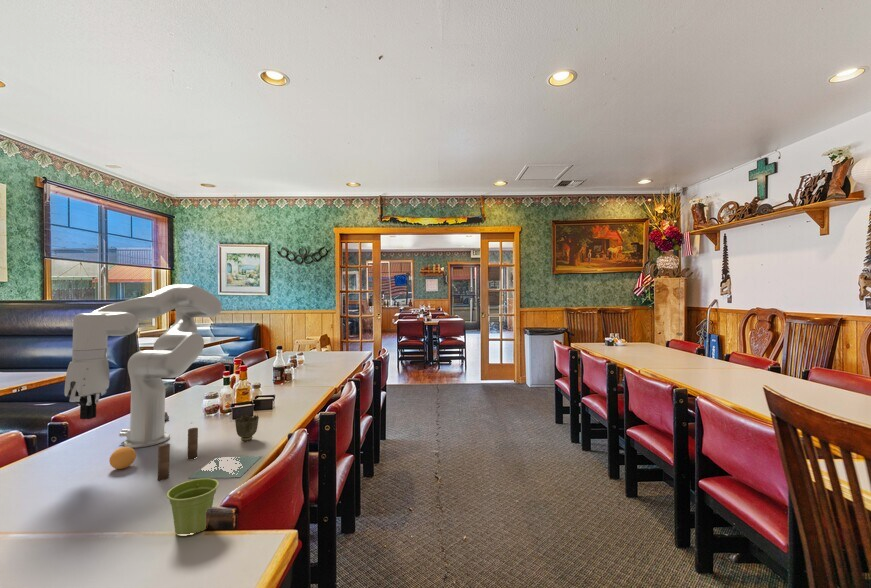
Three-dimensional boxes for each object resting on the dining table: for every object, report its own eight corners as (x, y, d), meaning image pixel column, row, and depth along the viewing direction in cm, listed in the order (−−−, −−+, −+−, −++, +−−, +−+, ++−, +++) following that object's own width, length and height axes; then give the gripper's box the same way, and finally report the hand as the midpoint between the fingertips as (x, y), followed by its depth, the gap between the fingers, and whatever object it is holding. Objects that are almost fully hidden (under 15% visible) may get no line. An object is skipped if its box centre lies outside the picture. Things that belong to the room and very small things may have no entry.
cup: (262, 437, 134) (263, 414, 134) (250, 445, 127) (250, 421, 127) (243, 436, 135) (243, 414, 135) (230, 444, 128) (230, 420, 128)
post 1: (155, 480, 102) (155, 447, 102) (161, 475, 104) (162, 443, 104) (165, 480, 102) (165, 447, 102) (171, 475, 104) (172, 443, 104)
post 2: (185, 459, 115) (186, 430, 115) (190, 456, 117) (191, 427, 117) (194, 459, 115) (194, 430, 115) (199, 456, 117) (199, 427, 118)
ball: (103, 472, 106) (103, 451, 106) (120, 463, 112) (120, 443, 112) (125, 472, 106) (125, 451, 106) (141, 463, 112) (141, 443, 112)
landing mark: (188, 478, 103) (188, 477, 103) (216, 457, 117) (216, 456, 117) (239, 477, 103) (239, 477, 103) (261, 456, 117) (261, 456, 117)
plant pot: (182, 517, 85) (183, 478, 85) (225, 515, 85) (226, 477, 86) (155, 543, 75) (156, 500, 75) (204, 541, 76) (204, 498, 76)
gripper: (98, 351, 116) (97, 411, 116) (51, 359, 101) (49, 426, 101) (123, 352, 117) (121, 410, 116) (79, 359, 102) (77, 426, 101)
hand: (88, 418), depth 109 cm, fingers closed
